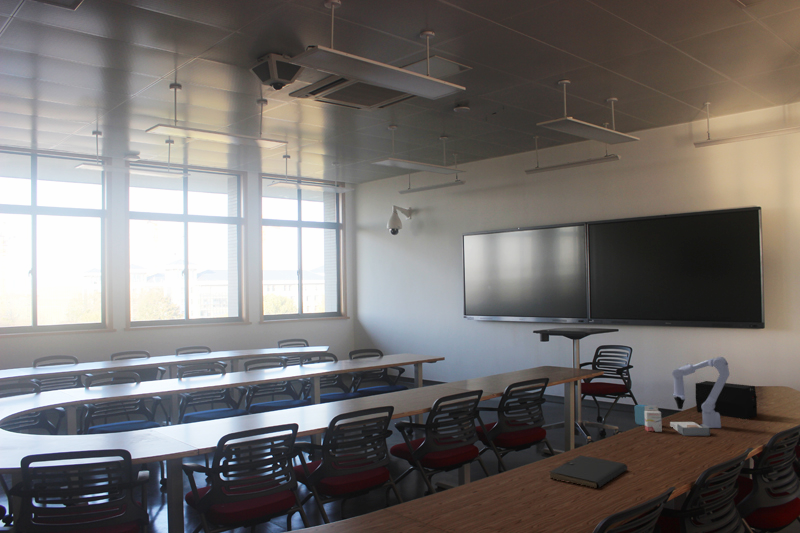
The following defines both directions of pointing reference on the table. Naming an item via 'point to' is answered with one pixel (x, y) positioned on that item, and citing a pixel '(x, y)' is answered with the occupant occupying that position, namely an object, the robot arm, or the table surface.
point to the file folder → (588, 471)
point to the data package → (640, 414)
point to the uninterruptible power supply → (729, 399)
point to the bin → (694, 431)
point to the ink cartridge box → (652, 419)
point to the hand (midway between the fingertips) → (680, 408)
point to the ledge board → (683, 424)
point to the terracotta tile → (692, 426)
